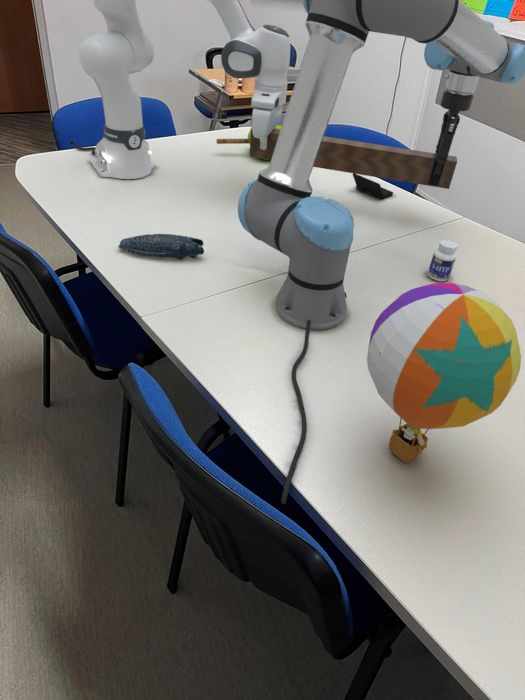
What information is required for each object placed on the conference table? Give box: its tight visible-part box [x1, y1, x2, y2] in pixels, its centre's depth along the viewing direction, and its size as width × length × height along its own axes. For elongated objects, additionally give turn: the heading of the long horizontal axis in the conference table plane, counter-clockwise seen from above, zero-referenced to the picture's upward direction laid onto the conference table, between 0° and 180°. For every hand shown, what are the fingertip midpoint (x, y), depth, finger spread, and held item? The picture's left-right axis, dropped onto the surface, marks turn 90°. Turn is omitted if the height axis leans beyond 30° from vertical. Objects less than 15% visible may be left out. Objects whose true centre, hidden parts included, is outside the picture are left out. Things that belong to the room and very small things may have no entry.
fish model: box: [118, 233, 205, 260], centre depth 125 cm, size 7×21×5 cm, turn 84°
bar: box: [249, 128, 458, 190], centre depth 148 cm, size 58×5×8 cm, turn 75°
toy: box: [366, 282, 522, 464], centre depth 73 cm, size 20×20×30 cm
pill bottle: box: [427, 239, 458, 282], centre depth 126 cm, size 5×5×9 cm
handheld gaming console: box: [352, 173, 394, 200], centre depth 167 cm, size 12×7×10 cm
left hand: (266, 145), depth 152 cm, fingers closed on bar, 5 cm apart
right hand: (433, 181), depth 146 cm, fingers closed on bar, 5 cm apart
